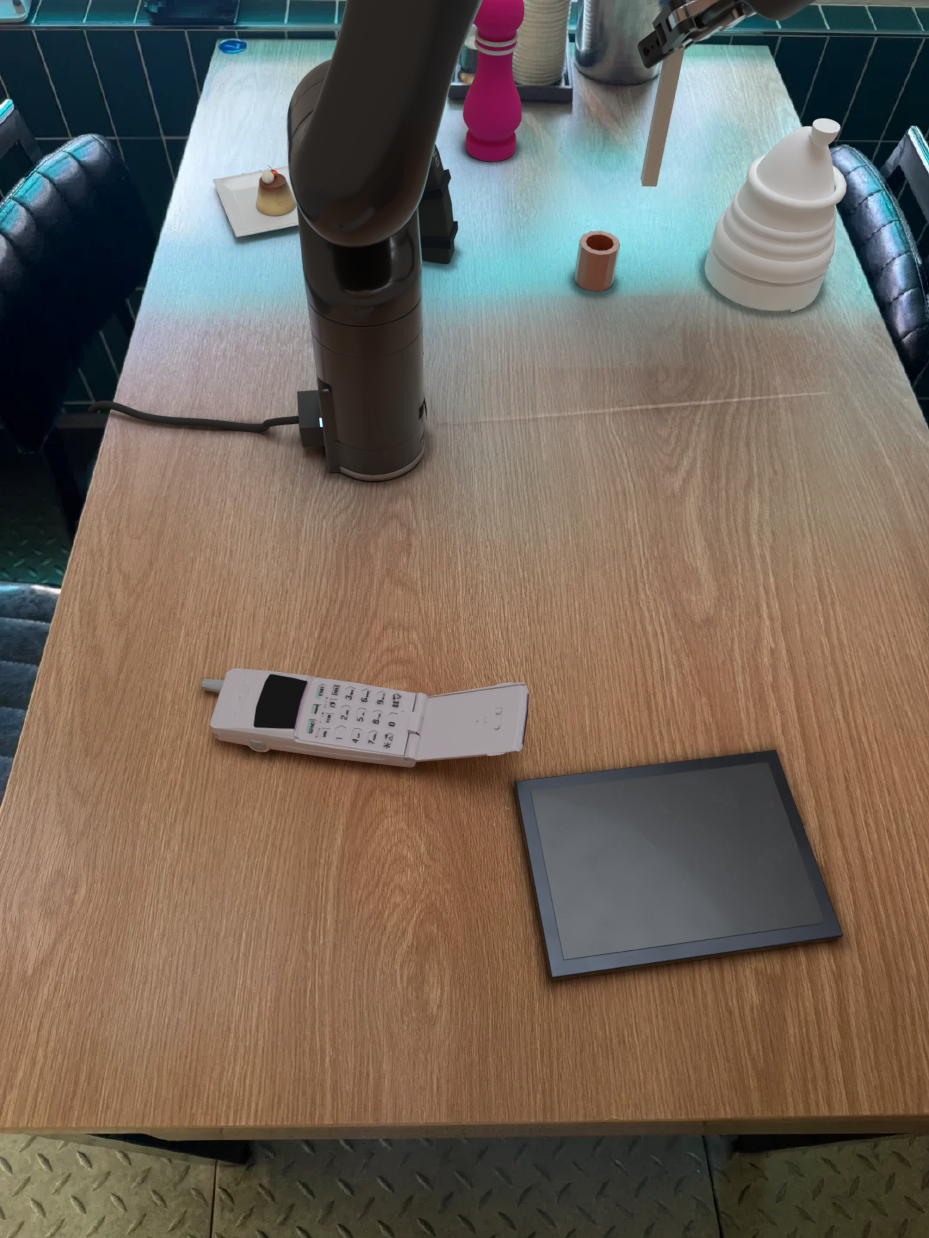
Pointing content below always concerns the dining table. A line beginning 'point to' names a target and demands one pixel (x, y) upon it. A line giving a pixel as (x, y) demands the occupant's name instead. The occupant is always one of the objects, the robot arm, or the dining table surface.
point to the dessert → (258, 201)
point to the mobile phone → (366, 718)
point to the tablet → (670, 864)
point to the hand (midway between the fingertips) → (654, 52)
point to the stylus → (661, 118)
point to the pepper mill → (494, 82)
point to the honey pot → (780, 224)
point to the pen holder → (596, 260)
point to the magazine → (437, 215)
